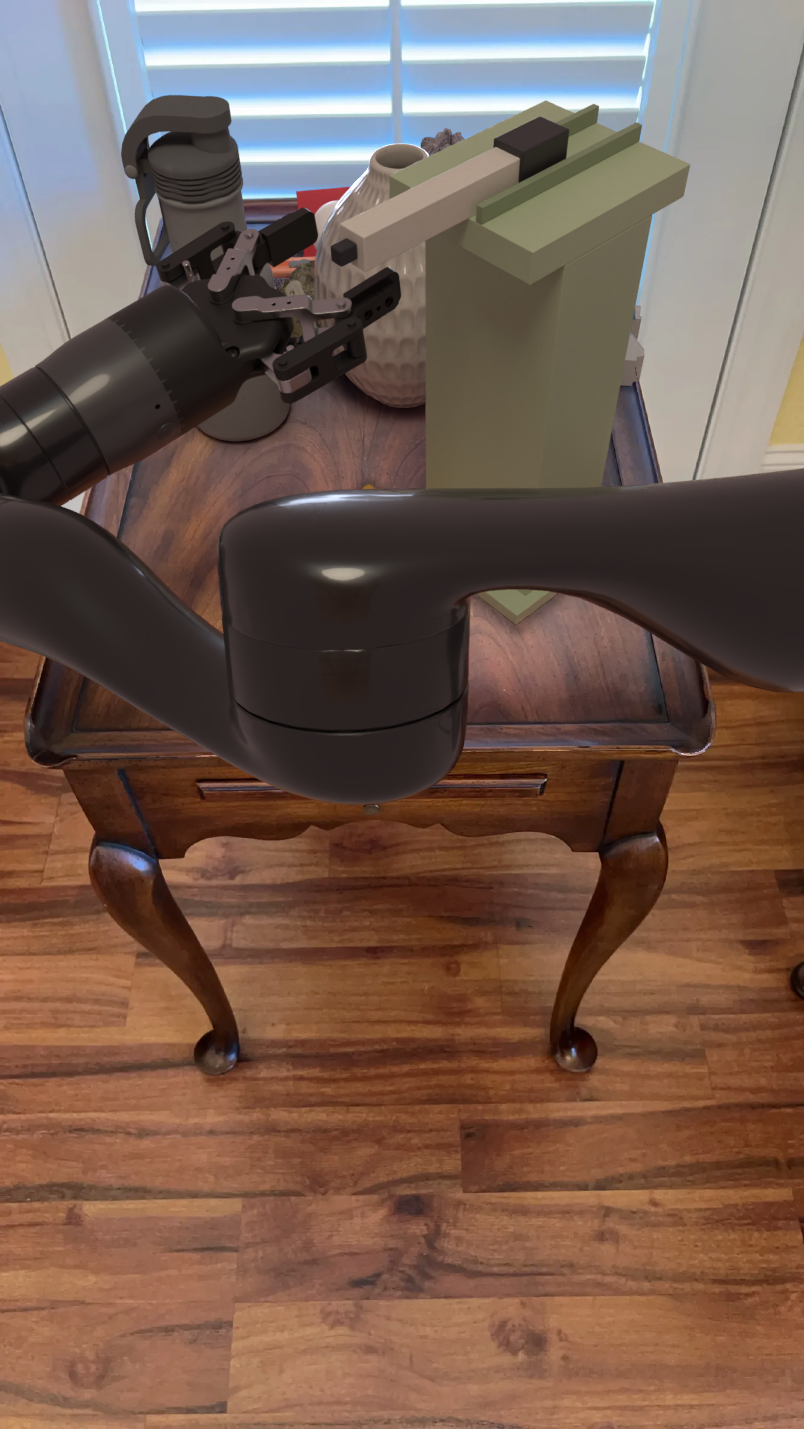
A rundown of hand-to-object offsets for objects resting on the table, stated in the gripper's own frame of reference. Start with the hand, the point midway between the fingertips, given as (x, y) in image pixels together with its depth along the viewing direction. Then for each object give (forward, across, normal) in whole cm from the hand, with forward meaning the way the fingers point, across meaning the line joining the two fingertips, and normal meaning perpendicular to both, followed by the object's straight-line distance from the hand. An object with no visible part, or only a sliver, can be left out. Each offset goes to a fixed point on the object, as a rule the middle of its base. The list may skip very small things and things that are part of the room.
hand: (353, 251), depth 62 cm
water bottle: (-1, +24, +29) cm, 38 cm away
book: (+24, +35, +32) cm, 53 cm away
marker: (+4, -6, -3) cm, 8 cm away
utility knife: (+12, +41, +28) cm, 51 cm away
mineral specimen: (+34, +34, +20) cm, 52 cm away
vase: (+14, +16, +31) cm, 38 cm away
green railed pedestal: (+7, -6, +29) cm, 31 cm away
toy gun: (+27, +7, +31) cm, 41 cm away
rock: (+13, +24, +31) cm, 41 cm away
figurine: (+14, +28, +22) cm, 38 cm away
